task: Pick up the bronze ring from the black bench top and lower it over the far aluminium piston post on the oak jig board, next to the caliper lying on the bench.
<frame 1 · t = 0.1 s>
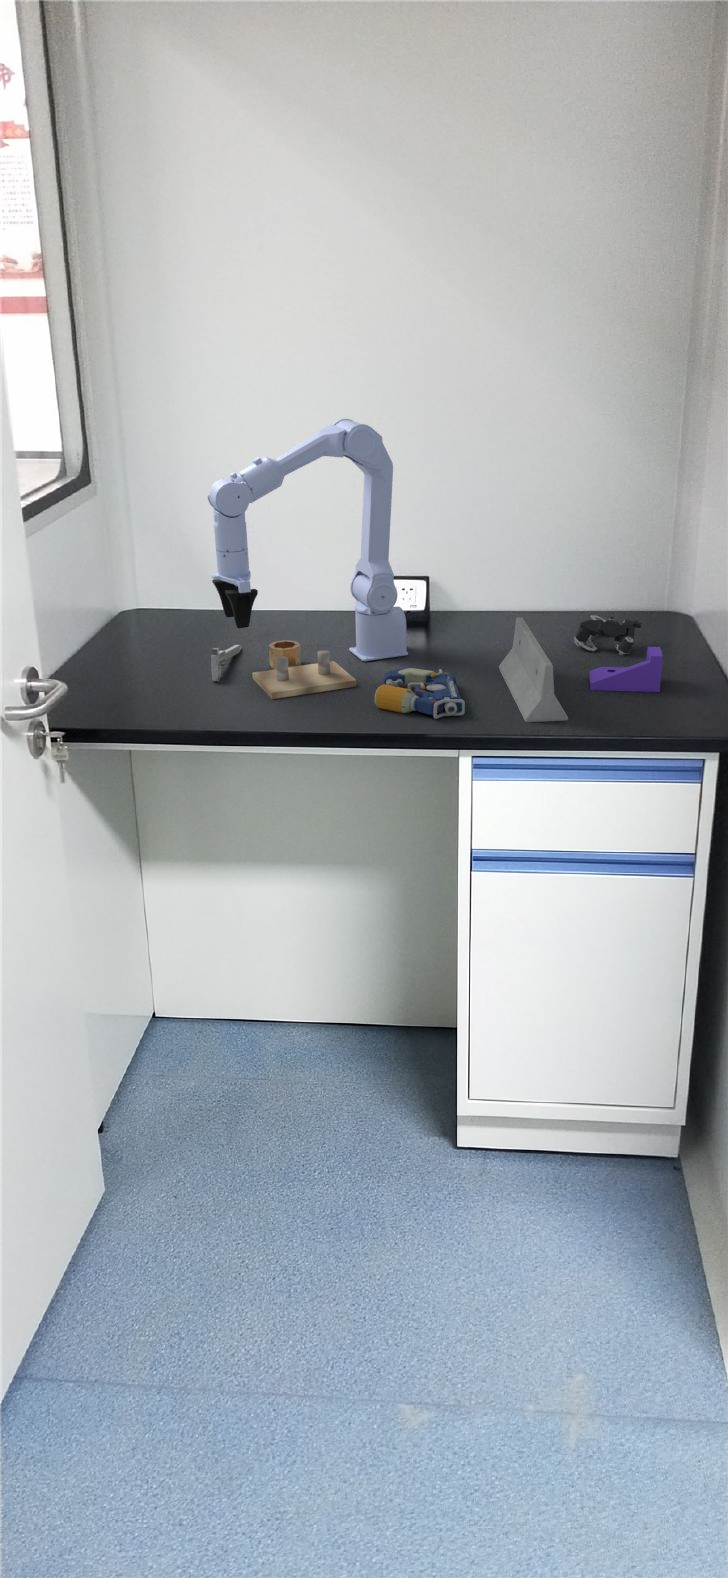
hand: (237, 621, 217), 10 cm above the table, tool pointing down, fingers open, 7 cm apart
piston block: (303, 682, 215), on the table
bicycle component: (608, 646, 232), on the table
bracket: (623, 687, 211), on the table
barrier: (531, 695, 208), on the table
ring: (285, 664, 225), on the table
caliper: (228, 666, 226), on the table
spray gun: (416, 703, 206), on the table
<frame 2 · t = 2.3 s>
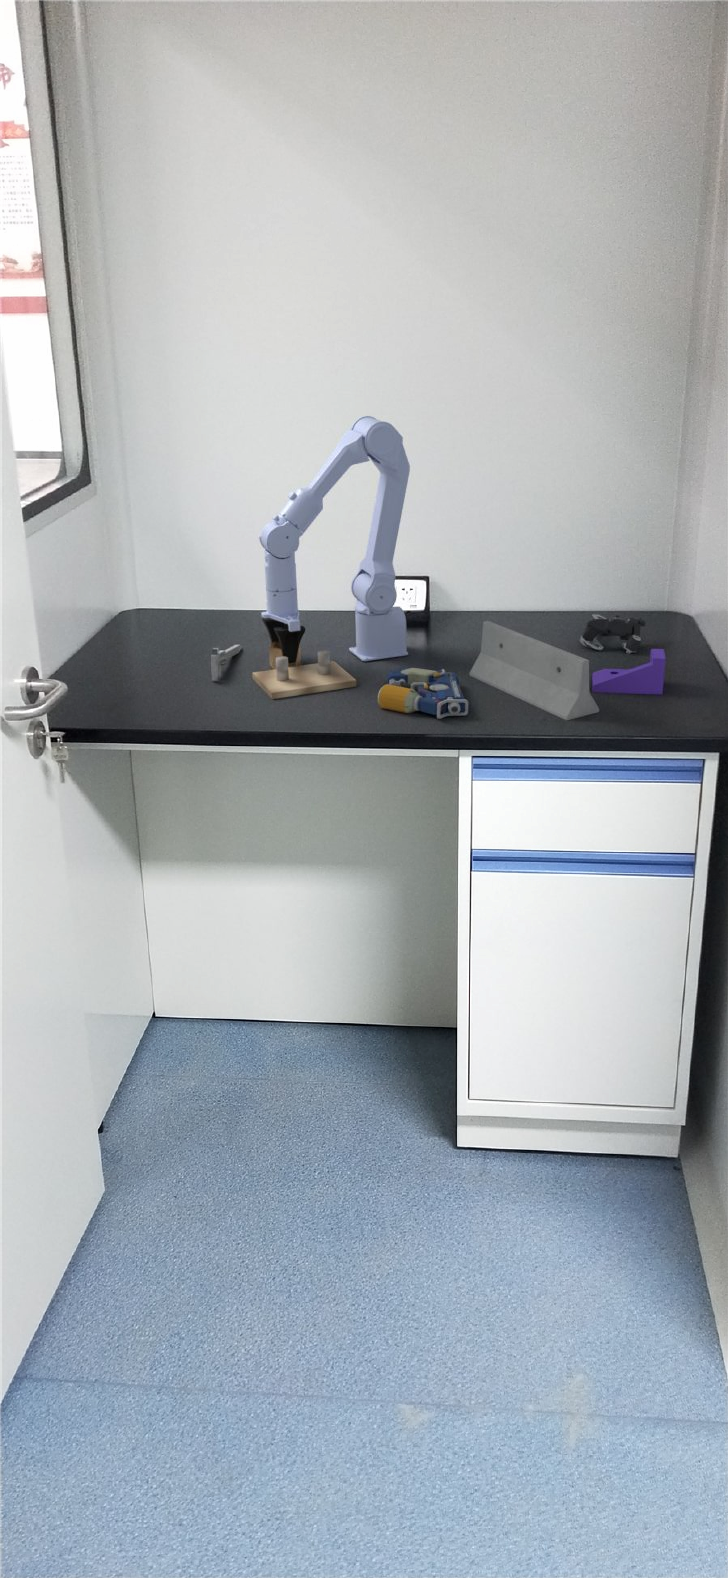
hand: (285, 657, 224), 1 cm above the table, tool pointing down, fingers closed on ring, 6 cm apart
bicycle component: (613, 645, 233), on the table
bracket: (626, 689, 210), on the table
ring: (285, 664, 225), on the table, touching gripper
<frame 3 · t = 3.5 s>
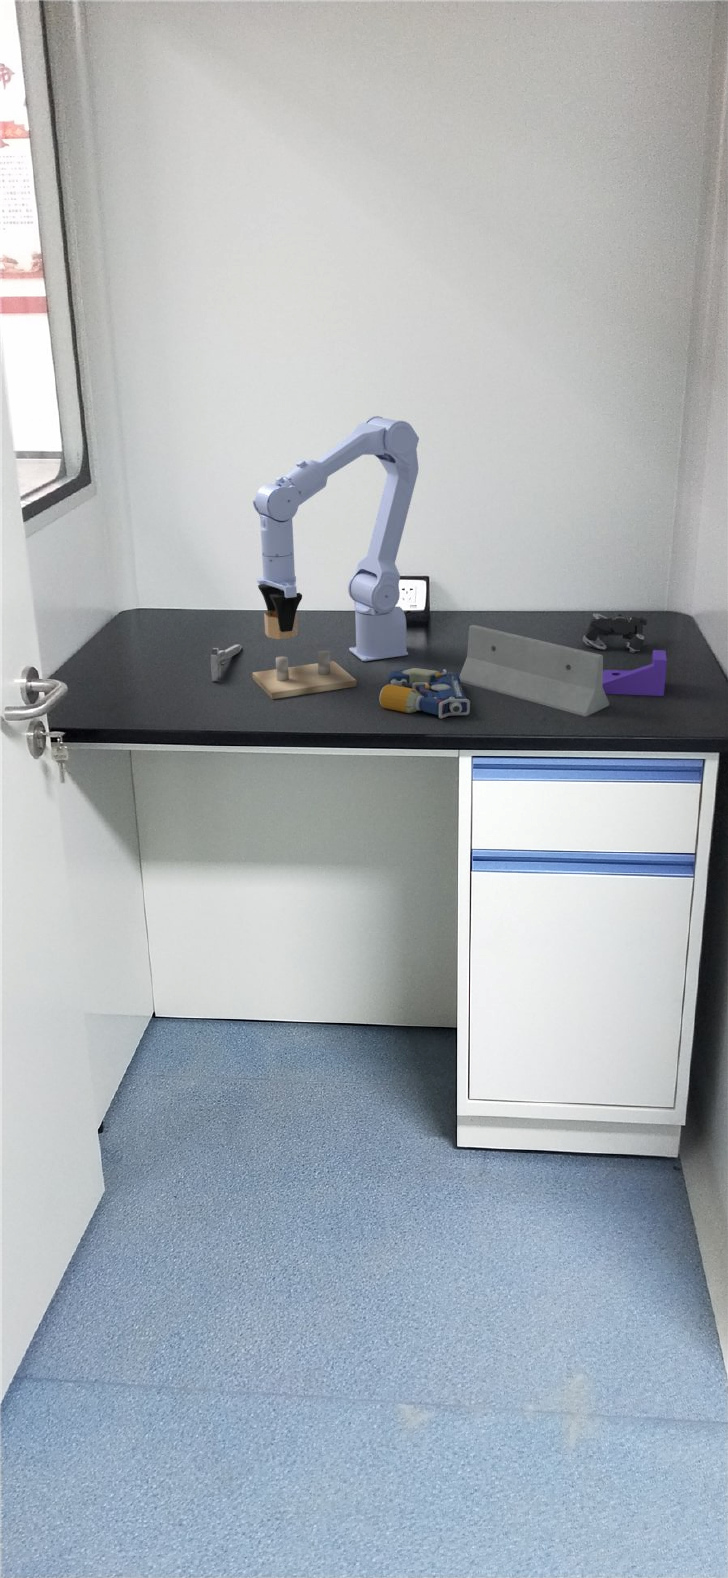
hand: (281, 626, 217), 9 cm above the table, tool pointing down, fingers closed on ring, 6 cm apart
ring: (281, 634, 218), point 8 cm above the table, touching gripper
when the fingers open (4 cm above the table, at t = 5.7 s): ring drops 1 cm, resting on piston block.
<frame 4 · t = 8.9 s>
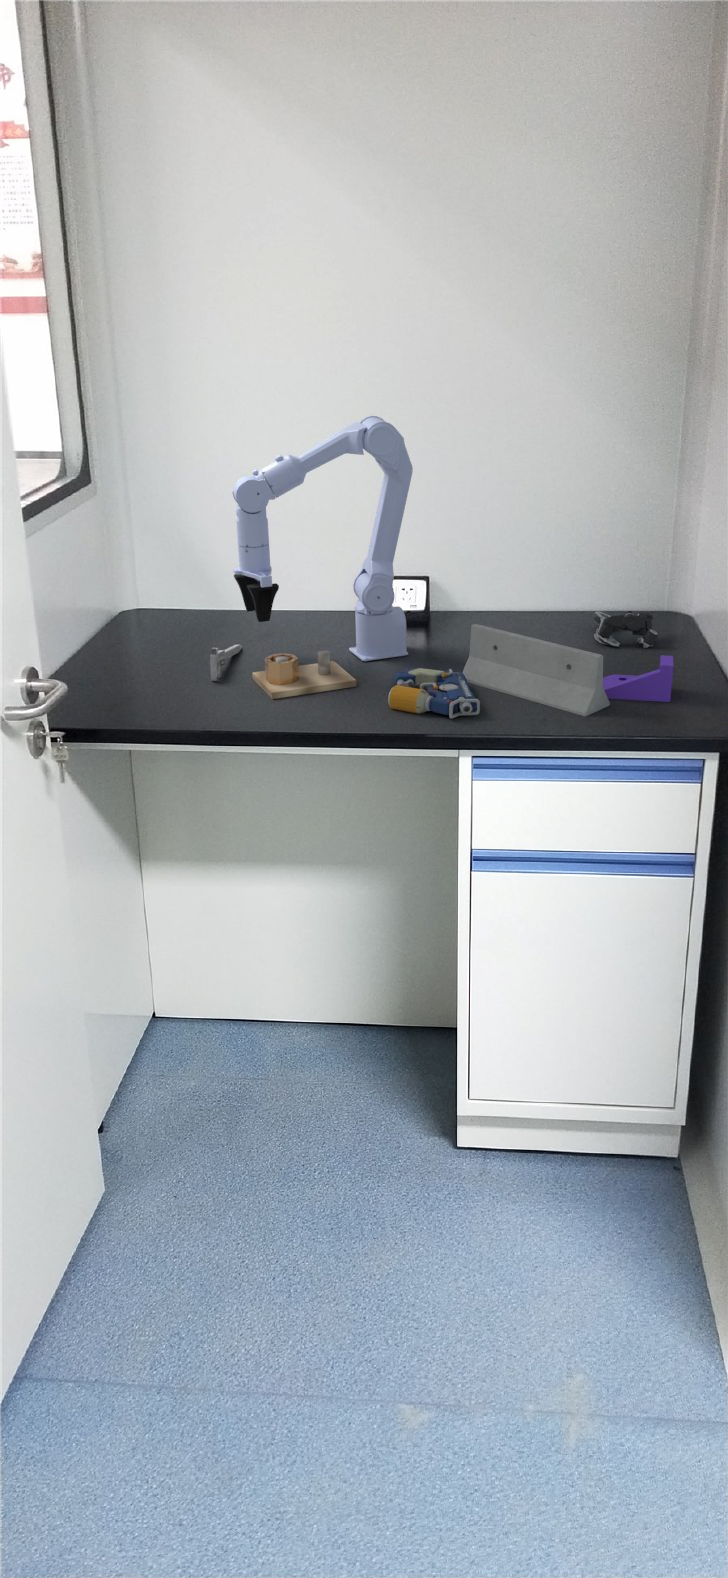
hand: (257, 615, 222), 9 cm above the table, tool pointing down, fingers open, 7 cm apart
bicycle component: (624, 640, 236), on the table
bracket: (634, 696, 207), on the table
ring: (282, 679, 214), point 1 cm above the table, touching piston block
spray gun: (429, 703, 206), on the table
at the end: ring 0.1 cm from the target spot on the piston block, point 1.2 cm above the piston block's base; ring tilted 0°; the gripper is holding nothing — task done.
